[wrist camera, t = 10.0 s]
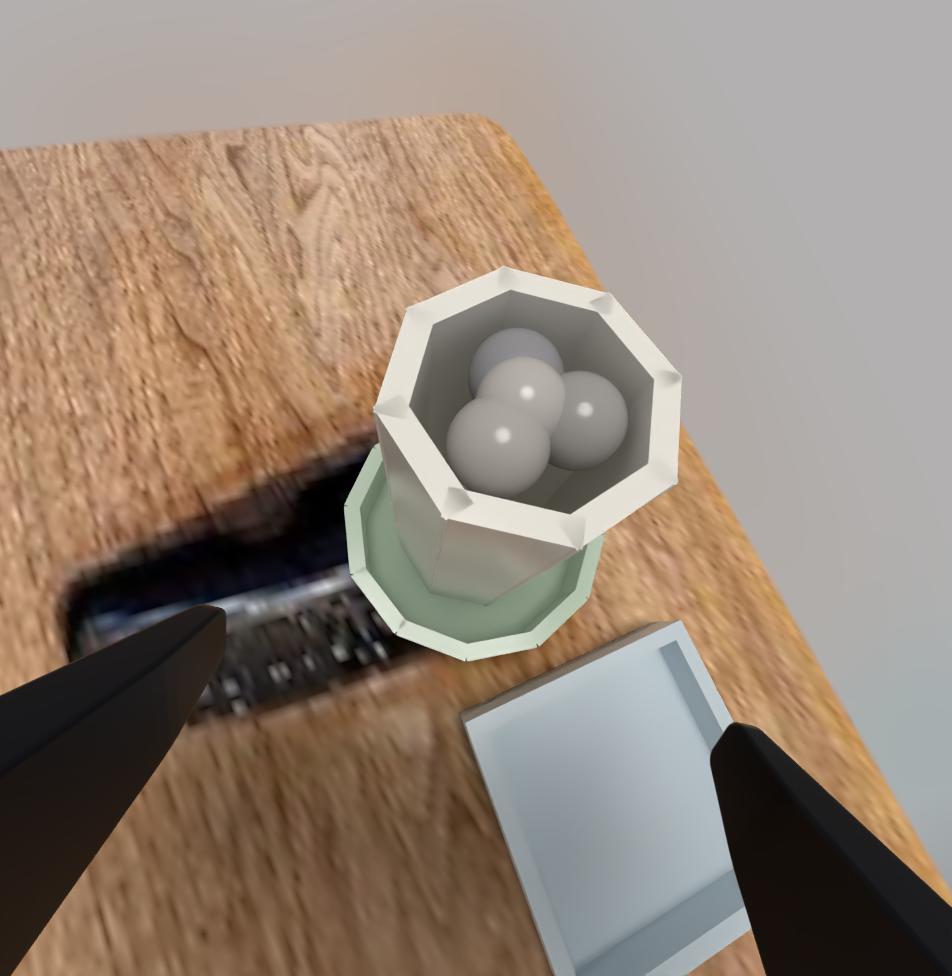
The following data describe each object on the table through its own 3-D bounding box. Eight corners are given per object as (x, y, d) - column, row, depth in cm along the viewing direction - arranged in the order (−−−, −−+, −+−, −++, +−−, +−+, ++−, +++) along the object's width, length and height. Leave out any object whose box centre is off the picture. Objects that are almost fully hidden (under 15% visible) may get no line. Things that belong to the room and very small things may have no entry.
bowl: (541, 691, 19) (563, 699, 16) (316, 604, 19) (298, 597, 16) (599, 480, 23) (624, 457, 20) (409, 408, 23) (408, 375, 20)
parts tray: (765, 851, 18) (816, 882, 16) (557, 988, 16) (582, 1048, 13) (651, 622, 21) (680, 619, 18) (459, 712, 18) (464, 722, 16)
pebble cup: (526, 615, 19) (687, 569, 8) (388, 585, 19) (339, 489, 7) (546, 487, 21) (696, 299, 10) (423, 458, 21) (426, 229, 10)
